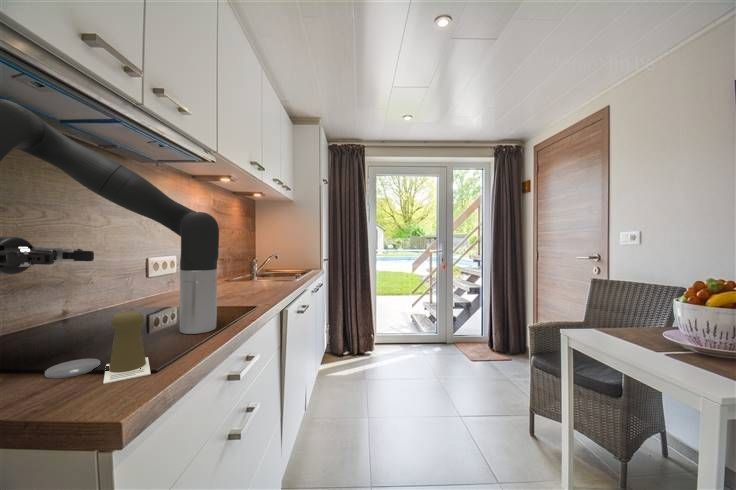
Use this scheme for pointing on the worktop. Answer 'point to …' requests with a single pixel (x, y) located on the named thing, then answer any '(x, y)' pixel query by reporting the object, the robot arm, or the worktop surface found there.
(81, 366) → the coaster
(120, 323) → the cork
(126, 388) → the worktop surface
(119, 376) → the letter
